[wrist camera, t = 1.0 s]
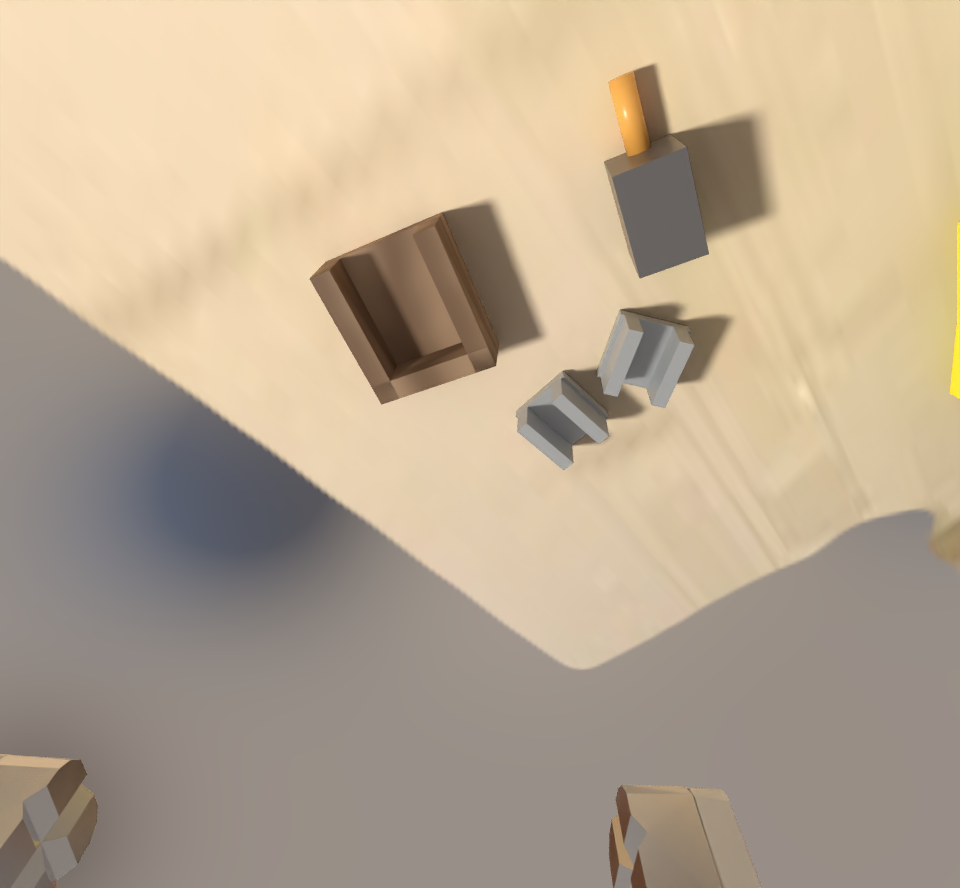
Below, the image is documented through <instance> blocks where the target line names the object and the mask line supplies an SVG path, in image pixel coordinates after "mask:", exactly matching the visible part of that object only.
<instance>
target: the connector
mask: <svg viewBox="0 0 960 888" xmlns="http://www.w3.org/2000/svg"><path fill="white" fill-rule="evenodd" d="M608 84H609V87H610V91H611V95H612V99H613V103H614V107H615V111H616V115H617V119H618V122H619V126H620V130H621V134H622V138H623V142H624V146H625V150H626V153H624V154H621V155H619V156H617V157H614V158H612V159H609V160H607V161H605V162H604V164H605V167H606V171H607V175H608V178H609V182H610V185H611V189H612V193H613V196H614V200H615V203H616V207H617V211H618V214H619V218H620V221H621V225H622V229H623V232H624V236H625V239H626V243H627V247H628V250H629V254H630V256H631V259H632V261H633V264H634V266H635V268H636V271H637V273H638V276H639V278H643V277H645V276H648V275H651V274H654V273H657V272H660V271H662V270H665V269H668V268H671V267H674V266H676V265H679V264H682V263H685V262H688V261H690V260H693V259H696V258H699V257H702V256H705V255H707V254H709V252H708V247H707V242H706V237H705V232H704V228H703V223H702V218H701V213H700V208H699V203H698V199H697V194H696V189H695V184H694V179H693V175H692V170H691V165H690V160H689V155H688V150H687V146H685V145H684V144H682V143H681V142H680V141H678V140H677V139H676V138H674V137H673V136H672V135H670V134H669V135H667V136H664V137H662V138H660V139H657V140H655V141H652V142H650V140H649V136H648V131H647V127H646V123H645V119H644V115H643V110H642V106H641V102H640V98H639V93H638V89H637V85H636V81H635V76H634V72H633V71H632V72H629V73H626V74H624V75H621V76H619V77H617V78H615V79H613V80H611V81H610V82H608Z"/></svg>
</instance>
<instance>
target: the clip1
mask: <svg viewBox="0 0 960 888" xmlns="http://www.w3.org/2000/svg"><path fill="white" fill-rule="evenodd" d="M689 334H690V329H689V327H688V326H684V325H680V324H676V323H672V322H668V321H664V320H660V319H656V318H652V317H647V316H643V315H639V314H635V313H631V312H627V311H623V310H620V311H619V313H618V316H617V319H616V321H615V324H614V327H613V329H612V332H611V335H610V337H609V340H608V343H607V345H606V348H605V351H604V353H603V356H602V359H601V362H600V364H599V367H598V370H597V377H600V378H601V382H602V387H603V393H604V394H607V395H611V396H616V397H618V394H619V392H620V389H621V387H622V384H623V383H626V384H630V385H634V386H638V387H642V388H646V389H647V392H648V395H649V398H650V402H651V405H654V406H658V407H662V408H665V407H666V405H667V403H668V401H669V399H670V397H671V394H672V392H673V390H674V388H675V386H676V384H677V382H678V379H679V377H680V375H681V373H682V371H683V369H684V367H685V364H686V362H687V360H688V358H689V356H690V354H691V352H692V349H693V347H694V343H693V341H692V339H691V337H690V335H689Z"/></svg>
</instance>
